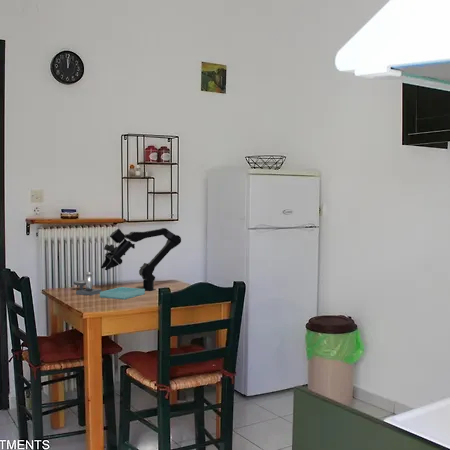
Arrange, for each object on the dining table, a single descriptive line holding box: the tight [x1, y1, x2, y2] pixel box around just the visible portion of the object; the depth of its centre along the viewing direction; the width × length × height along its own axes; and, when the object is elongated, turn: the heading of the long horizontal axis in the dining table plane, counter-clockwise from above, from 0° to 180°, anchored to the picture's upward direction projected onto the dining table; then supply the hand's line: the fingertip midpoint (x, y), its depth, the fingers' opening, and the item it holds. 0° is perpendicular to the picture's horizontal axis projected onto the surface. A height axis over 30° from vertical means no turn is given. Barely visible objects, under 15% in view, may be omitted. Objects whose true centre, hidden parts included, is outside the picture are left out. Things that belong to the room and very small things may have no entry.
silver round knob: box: [73, 279, 86, 290], centre depth 336 cm, size 9×9×5 cm
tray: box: [99, 286, 146, 300], centre depth 315 cm, size 20×16×3 cm
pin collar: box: [75, 288, 103, 296], centre depth 322 cm, size 10×10×2 cm
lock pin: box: [84, 271, 94, 291], centre depth 321 cm, size 4×4×12 cm
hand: (103, 269), depth 325 cm, fingers open, 9 cm apart
